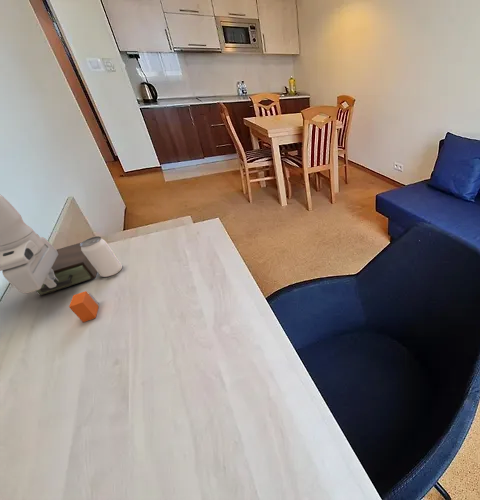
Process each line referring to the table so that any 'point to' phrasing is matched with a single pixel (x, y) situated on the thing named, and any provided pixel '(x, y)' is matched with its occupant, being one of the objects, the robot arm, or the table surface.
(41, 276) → the robot arm
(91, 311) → the orange wooden toy brick
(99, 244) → the can
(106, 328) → the table surface
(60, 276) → the drawer
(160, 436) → the table surface
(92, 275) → the cabinet
